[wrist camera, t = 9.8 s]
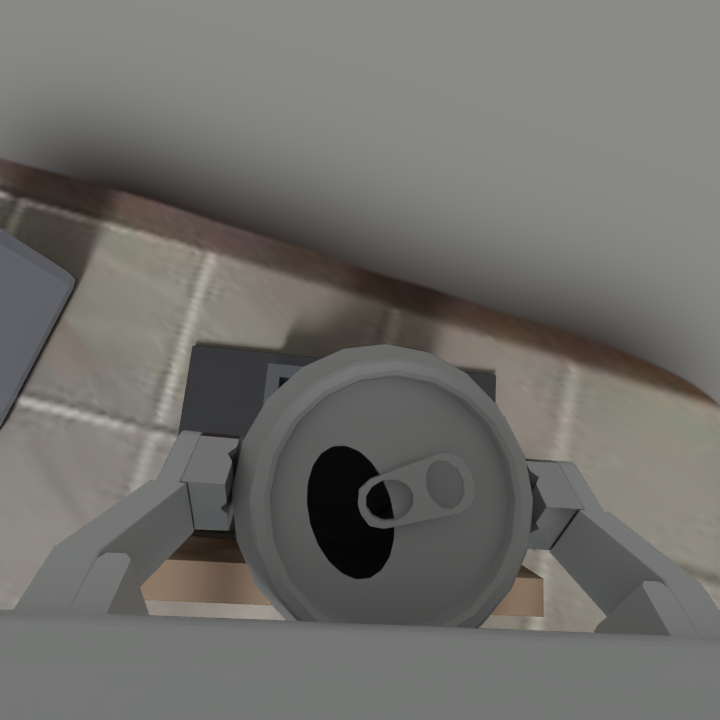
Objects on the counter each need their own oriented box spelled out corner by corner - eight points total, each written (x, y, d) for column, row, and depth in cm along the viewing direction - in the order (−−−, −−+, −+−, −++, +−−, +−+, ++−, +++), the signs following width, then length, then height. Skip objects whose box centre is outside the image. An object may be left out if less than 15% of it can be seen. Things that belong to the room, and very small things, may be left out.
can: (257, 409, 20) (176, 379, 8) (397, 369, 21) (499, 292, 10) (297, 561, 19) (268, 771, 7) (442, 510, 20) (618, 621, 8)
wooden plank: (503, 553, 28) (543, 578, 23) (503, 584, 28) (543, 616, 23) (148, 533, 26) (109, 556, 21) (142, 566, 26) (101, 598, 21)
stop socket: (493, 376, 30) (515, 369, 27) (490, 545, 28) (513, 560, 25) (194, 346, 28) (178, 335, 25) (165, 526, 26) (143, 539, 23)
